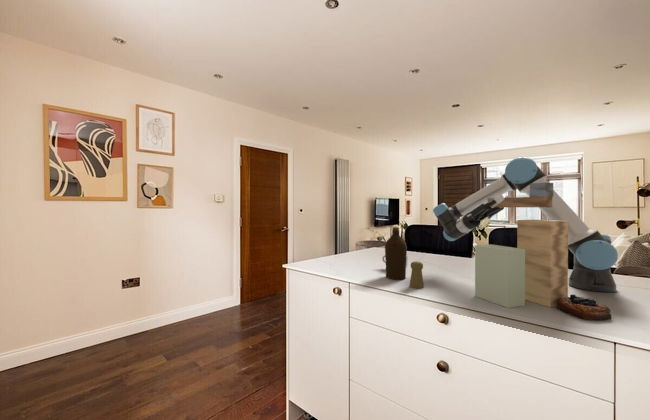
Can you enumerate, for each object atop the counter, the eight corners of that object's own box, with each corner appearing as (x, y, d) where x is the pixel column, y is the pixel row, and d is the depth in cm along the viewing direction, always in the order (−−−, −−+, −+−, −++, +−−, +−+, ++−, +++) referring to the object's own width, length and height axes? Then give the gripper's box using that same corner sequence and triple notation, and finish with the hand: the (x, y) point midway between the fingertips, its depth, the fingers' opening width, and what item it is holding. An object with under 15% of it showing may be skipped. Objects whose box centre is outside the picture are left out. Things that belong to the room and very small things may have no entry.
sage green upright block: (490, 293, 113) (491, 244, 113) (524, 305, 100) (525, 249, 100) (475, 295, 111) (475, 245, 111) (507, 307, 98) (508, 250, 98)
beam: (495, 207, 126) (495, 187, 126) (553, 207, 103) (553, 182, 103) (486, 207, 125) (486, 187, 125) (543, 207, 102) (543, 182, 102)
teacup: (410, 268, 160) (410, 254, 160) (404, 272, 151) (404, 257, 151) (386, 266, 168) (386, 252, 168) (379, 269, 159) (379, 255, 158)
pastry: (580, 307, 99) (580, 290, 99) (618, 321, 87) (619, 302, 87) (551, 308, 98) (551, 291, 98) (585, 322, 86) (585, 303, 86)
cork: (424, 289, 120) (425, 263, 120) (410, 288, 122) (410, 262, 122) (423, 285, 126) (423, 260, 126) (409, 284, 127) (409, 260, 127)
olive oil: (410, 279, 136) (410, 228, 135) (389, 280, 134) (389, 228, 134) (401, 274, 146) (401, 226, 146) (381, 275, 144) (381, 226, 144)
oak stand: (533, 294, 112) (534, 219, 112) (567, 304, 101) (568, 220, 101) (517, 296, 110) (517, 219, 109) (549, 307, 98) (550, 221, 98)
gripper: (485, 229, 138) (526, 205, 119) (457, 230, 133) (495, 204, 114) (478, 215, 142) (517, 190, 123) (451, 216, 137) (487, 189, 117)
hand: (506, 197), depth 118 cm, fingers closed on beam, 4 cm apart
